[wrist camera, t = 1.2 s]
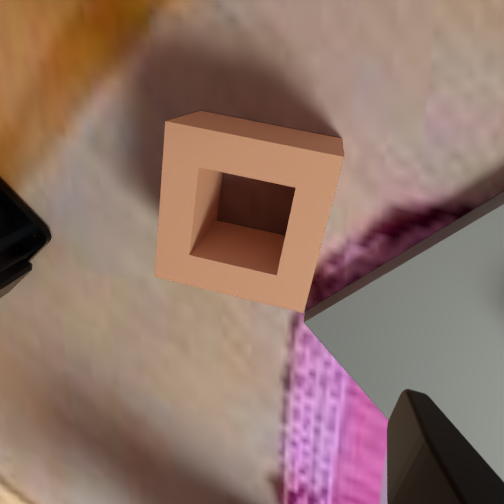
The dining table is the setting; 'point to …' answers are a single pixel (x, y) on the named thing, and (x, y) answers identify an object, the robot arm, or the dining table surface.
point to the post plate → (431, 327)
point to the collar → (235, 236)
